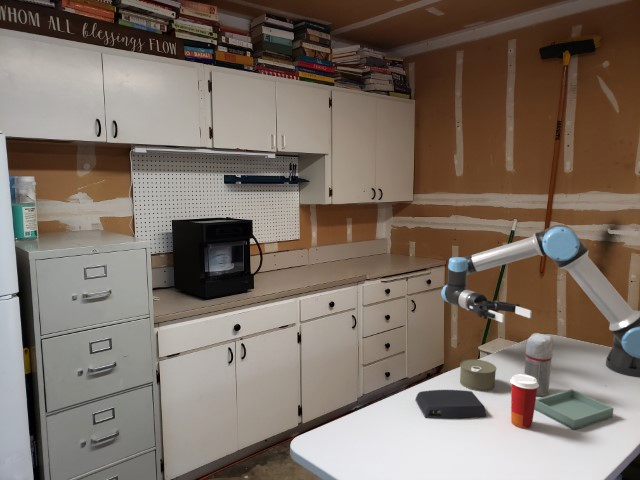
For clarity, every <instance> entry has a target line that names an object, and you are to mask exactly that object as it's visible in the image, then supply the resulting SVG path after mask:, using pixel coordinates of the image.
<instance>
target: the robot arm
mask: <svg viewBox="0 0 640 480" xmlns="http://www.w3.org/2000/svg"><path fill="white" fill-rule="evenodd" d="M589 252H590V251H589V249H588V248H587V246H586V245H585V244H584V242H582V240H581V239H580V238H579V237H578V235H577V234H576V232H575V231H574V230H573V228H571V227H569V226H568V225H565V224H564V225H563V224H557V225H553V226H551V227H548V228H545V229H544V230H541V231H538V232H534V233H533V235H532V236H530V237H527V238H524V239H521V240H516V241H514V242H511V243H507V244H503V245H500V246H497V247H494V248H490V249H488V250H484V251H481V252H477V253H475V254H471V255H468V256H462V257H459V256H458V257H455V256H453V257H450V258H449V260H448V264H447V267H448V268H447V270H448V272H447V284H446V285H445V284H444V286H443V287H442V290H441V292H440V294H441V298H442V300H443V301H444V302H447V303H448V304H450V305H453V306H456V307H460V308H462V309H466V311H470V312H472V313H474V314H475V315H476V316H477V317H479V318H483V320H488V319H491V320H494V321H497V322H500V323H504V322H505V314H503V313H500V312H501V311H502V312H509V313H515V314H516V315H519V316H522V317H525V318H528V319H532V314H533V313H532V310H530V309H529V308H524V307H521V304H520V303H511V302H506V301H500V300H497V299H495V300H494V301H493V300H490V299H487V297H486V295H484V294H481V293H479V292H476V291H474V290H469V289H467V285H468V284H467V283H468V276H469V275H472V274H475V273H478V272H482V271H484V270H488V269H492V268H496V267H499V266H503V265H507V264H510V263H512V262H513V263H514V262H517V261H520V260H524V259H528V258H532V257H535V256H538V255H540V256H541V257H544V256H547V257H549V258H550V259H552V261H553V262H554V263H555V264H556V265H557V267H558V268H559V269H560V270H565V271H567V272H568V274H569V275H570V276H571V277H572V278H573V280H574V281H575V282H576V283H577V284H578V285H579V286H580V288H581V289H582V291H583V292H584V293H585V294H586V295H587V296H588V298H589V299H590V300H591V302H592V304H594V305H595V306H596V307H597V309H598V310H599V311H600V313H601V314H602V315H603V316H604V317H605V318H606V320H607V322H608V323H609V327H608V329H609V331H610V332H611V334H613V343H612V347H611V349H610V351H609V353H608V355H607V357H606V359H605V366H606V367H607V369H610V370H611V371H614V372H615V373H619V374H622V375H624V376H625V375H626V376H632V377H639V378H640V310H636V309H632V307H630V305H629V304H628V303H627V301H626V300H625V299H624V298H623V296H622V295H621V294H620V293H619V292H618V291H617V290H616V288H615V287H614V286H613V285H612V284H611V282H610V281H609V280H608V278H606V276H605V275H604V274H603V272H602V271H600V269H599V267H598V266H597V265H596V264H595V263H594V262H593V261H592V259H591V258H590V257H589ZM499 311H500V312H499Z"/></svg>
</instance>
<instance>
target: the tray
mask: <svg viewBox="0 0 640 480" xmlns="http://www.w3.org/2000/svg"><path fill="white" fill-rule="evenodd" d="M534 411H536V412H538V413H540V414H542V415H544V416H546V417H547V418H550V419H552V420H554V421H555V422H557V423H559V424H561V425H562V426H565V427H567V428H569V429H571V430H572V431H575V430H579V429H582V428H584V427H588V426H590V425H594V424H596V423H599V422H603V421H606V420H609V419H612V418H613V416H614V407H612V406H610V405H608V404H605V403H604V402H601V401H598V400H597V399H594V398H592V397H590V396H588V395H585V394H583V393H582V392H581V393H580V392H579V391H577V390H574V389H571V388H570V389H568V390H563V391H561V392H557V393H554V394H548V395H546V396H541V397H538V398H536V401H535V408H534Z"/></svg>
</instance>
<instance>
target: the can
mask: <svg viewBox="0 0 640 480" xmlns="http://www.w3.org/2000/svg"><path fill="white" fill-rule="evenodd" d="M459 366H460V375H459V384H460V385H461V386H463V388H465V387H466V389H468V390H469V391H475V392H490V391H492V390H494V389H495V384H496V373H497V372H496V371H497V367H496V365H495V364H493V363H491V362H489V361H486V360H482V359H476V358H471V359H470V358H469V359H464V360H462V361H460V364H459Z"/></svg>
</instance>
